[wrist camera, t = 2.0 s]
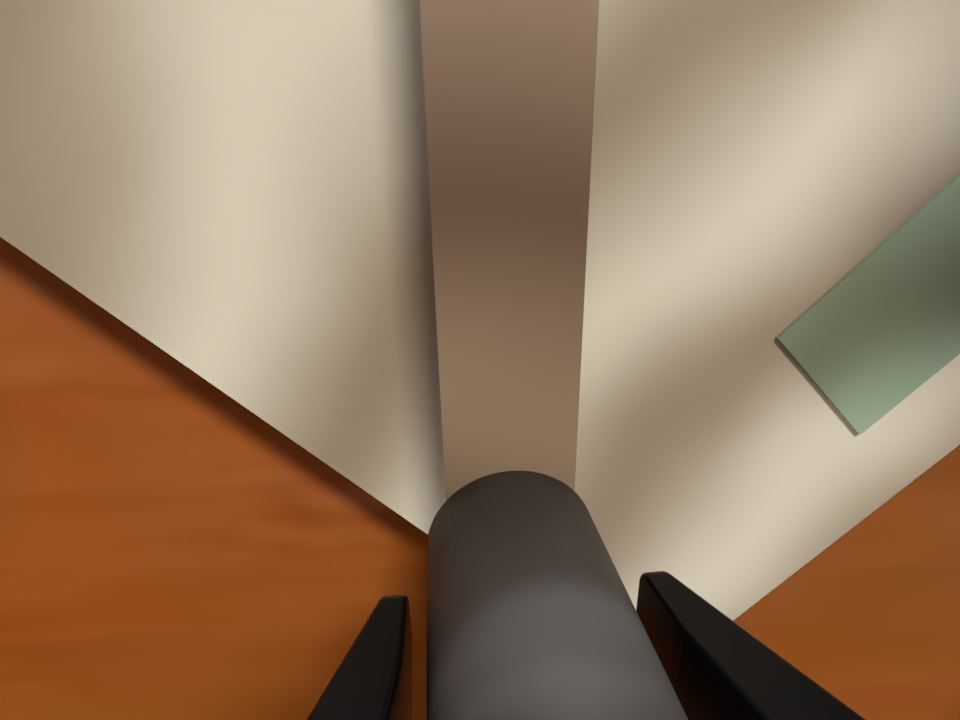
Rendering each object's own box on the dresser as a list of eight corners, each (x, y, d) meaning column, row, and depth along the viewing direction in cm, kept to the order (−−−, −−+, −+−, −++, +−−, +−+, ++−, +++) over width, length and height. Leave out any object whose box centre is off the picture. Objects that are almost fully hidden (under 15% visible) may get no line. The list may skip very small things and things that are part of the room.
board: (1166, 208, 12) (1265, 212, 11) (627, 641, 16) (648, 690, 14) (524, -1282, 6) (558, -1818, 4) (-195, 45, 9) (-320, 19, 7)
